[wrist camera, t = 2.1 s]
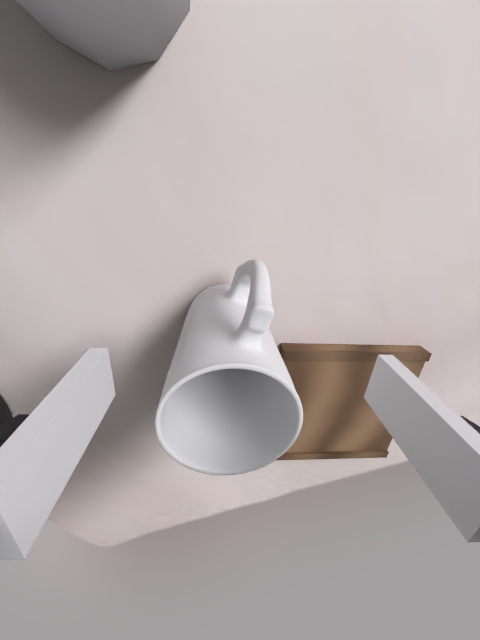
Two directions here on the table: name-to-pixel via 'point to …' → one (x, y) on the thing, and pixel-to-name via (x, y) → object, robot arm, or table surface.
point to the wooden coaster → (340, 398)
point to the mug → (229, 382)
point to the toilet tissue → (111, 27)
